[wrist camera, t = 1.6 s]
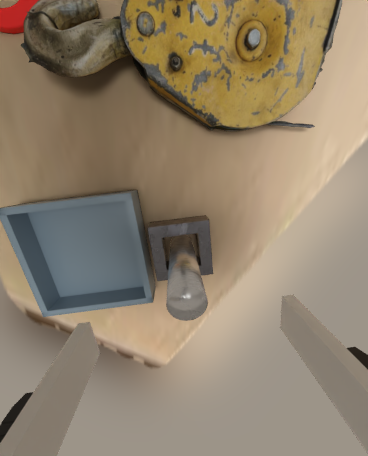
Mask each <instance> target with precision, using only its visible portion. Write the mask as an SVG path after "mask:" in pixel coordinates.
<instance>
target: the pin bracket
mask: <svg viewBox="0 0 368 456" xmlns="http://www.w3.org/2000/svg"><path fill="white" fill-rule="evenodd" d="M148 233H149V239H150V244H151V249H152V255H153V260H154V266H155V271H156V276H157V281H162V280H168V270H169V261H167V255H166V248H165V242H164V237H171V236H179V235H187V234H195V233H196V235H197V245H198V255H199V257H196V258H197V262H198V266H199V270H200V274H201V275H208V274H213V266H212V253H211V240H210V226H209V219H208V218H207V217H206V215H205V216H197V217H189V218H182V219H174V220H166V221H158V222H150V224H149V226H148Z"/></svg>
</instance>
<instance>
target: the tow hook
mask: <svg viewBox="0 0 368 456" xmlns="http://www.w3.org/2000/svg"><path fill="white" fill-rule="evenodd" d="M37 1H38V0H19V1H18V2H17V3H16V4H14V5H13V6H11V7H7V8H0V32H5V33H12V34H15V33H21V32H24V20H25V17H26V15H27V14H28V13H27V12H29V10H30V9H31V8H32V7H33V6H34V5H35V3H36V2H37Z"/></svg>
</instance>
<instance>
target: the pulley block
mask: <svg viewBox="0 0 368 456" xmlns="http://www.w3.org/2000/svg"><path fill="white" fill-rule="evenodd" d="M341 6H342V0H124V1H123V4H122V8H121V14H120V16H117V17H114V18H112V19H95V20H92V19H93V18H95V17H97V16H98V14H99V13H98V4H97V1H96V0H38V1H37V2H36V3H35V5H34V6H33V7H32V8H31V9H30V10H29V12H27V13H28V14H27V15H26V17H25V20H24V43H23V44H21V46H22V47H23V48H24V50H25V52H26V54H27V55H28V57H29V58H30V60H29V62H35V63H37V64H39V65H41V66H43V67H44V68H46V69H47V70H49V71H51V72H53V73H55V74H58V75H61V76H69V77H81V76H87V75H91V74H94V73H97V72H98V71H100V70H101V69H103V68H104V67H106V66H107V65H109V64H111V63H112V62H114V61H115V60H117V59H120V58H123V57H126V56H133V59H134V64H135V65H136V67H137V69H138V71H139V72H140V74H141V75H142V76H143V77H144V78H145V79H146V80H147V81H148V82H149V84H150V86H151V88H152V89H153V90H154V91H155V92H157V93H158V94H160V95H161V96H162V97H164V98H165V99H167V100H168V101H170V102H171V103H173V104H174V105H176V106H177V107H179V108H180V109H181V110H183V111H184V112H186V113H187V114H189V115H190V116H192V117H193V118H195V119H196V120H198V121H199V122H201V123H202V124H204V125H205V126H206V127H207V128H209V129H210V130H212V129H221V130H225V131H241V130H247V129H250V128H254V127H257V126H261V125H264V124H266V125H279V126H291V127H306V128H311V127H315V126H313V125H309V124H292V123H288V122H285V121H275V120H277V119H279V118H280V117H282V116H283V115H285V114H287V113H288V112H289V111H290V110H292V109H293V108H294V107H295V106H297V105H298V104H299V103H300V102H301V101H302V100H303V99H304V98H305V97H306V96H307V95H308V94H309V93H310V92H311V90H312V89H313V87H314V85H315V84H316V82H315V80H316V78H317V76H318V75H319V72H321V71H322V70H323V69H322V68H321V66H322V64H323V62H324V58H325V55H326V53H327V52H328V50H329V49H330V48H331V47H332V43H333V35H334V32H335V29H336V26H337V23H338V19H339V14H340V10H341Z"/></svg>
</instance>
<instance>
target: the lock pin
mask: <svg viewBox="0 0 368 456" xmlns="http://www.w3.org/2000/svg"><path fill="white" fill-rule="evenodd" d="M207 304H208V301H207V297H206V293H205V289H204V285H203V281H202V278H201V274H200V270H199V266H198V262H197V258H196V255H195V251H194V247H193V243H192V240H191V238H190V237H189V236H187V235H179V236H174V237H173V238H172V239H171V242H170V253H169V270H168V287H167V304H166V305H167V310H168V312H169V313H170V314H171V315H172V316H173V317H175V318H176V319H179V320H186V321H187V320H193V319H196V318H198V317H199V316H201V315H202V314H203V313H204V312H205V310H206V308H207Z"/></svg>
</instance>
